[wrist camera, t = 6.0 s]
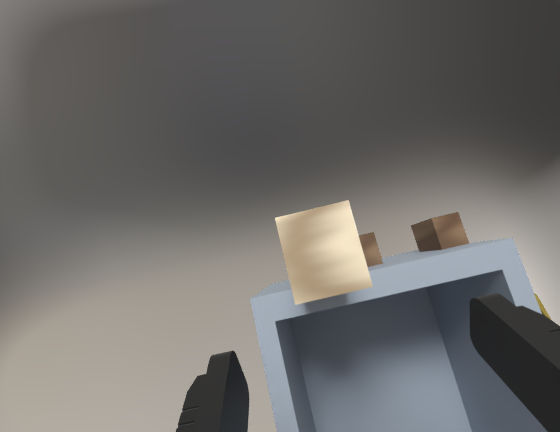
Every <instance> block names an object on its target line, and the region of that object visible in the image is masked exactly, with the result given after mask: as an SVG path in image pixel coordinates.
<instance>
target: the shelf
mask: <svg viewBox="0 0 560 432" xmlns="http://www.w3.org/2000/svg"><path fill="white" fill-rule="evenodd" d="M382 262H383V264H379V265H375V266H370V267H368V271H369V274H370V278H371V281H372V285H373V287H370V288H366V289H362V290H357V291H353V292H349V293H344V294H340V295H336V296H331V297H327V298H323V299H318V300H314V301H310V302H305V303H301V304H297V305H295V302H294V297H293V293H292V289H291V284H290V280H287V281H283V282H278V283H274V284H271V285H270V286H268V287H267V288H266V289H264V290H262V291H261V292H260V293H258V294H257V295H255V296H254V297H252V298H251V299H250V301H251V306H252V310H253V315H254V320H255V326H256V330H257V335H258V340H259V345H260V350H261V355H262V360H263V365H264V369H265V374H266V379H267V384H268V389H269V394H270V399H271V403H272V409H273V414H274V418H275V424H276V428H277V432H548V431H547V430H546V429H545V428H544V427H543V426H542V425H541V423H540V422H539V421H538V420H537V419H536V418H535V417H534V416H533V414H532V413H531V412H530V411H529V410H528V409H527V408H526V407H525V405H524V404H523V403H522V402H521V401H520V400H519V399H518V398H517V396H516V395H515V394H514V393H513V392H512V391H511V390H510V389H509V387H508V386H507V385H506V384H505V383H504V382H503V381H502V380H501V378H500V377H499V376H498V375H497V374H496V373H495V372H494V371H493V369H492V368H491V367H490V366H489V365H488V364H487V363H486V362H485V360H484V359H483V358H482V357H481V356H480V355H479V354H478V352H477V351H476V349H475V347H474V346H473V343H472V341H471V338H470V300H471V299H472V298H476V297H480V296H485V295H489V294H494V293H498V294H500V295H502V296H504V297H505V298H506V299H507V300H509V301H510V302H511V303H513V304H514V305H515V306H524V307H527V308H529V309H531V310H534V311H536V312H538V313H540V314H542V313H541V310H540V308H539V305H538V302H537V300H536V297H535V295H534V292H533V290H532V287H531V285H530V282H529V279H528V277H527V274H526V271H525V269H524V266H523V264H522V261H521V258H520V256H519V253H518V251H517V248H516V246H515V243H514V241H513V238H507V239H499V240H491V241H483V242H475V243H469V244H465V245H460V246H456V247H452V248H448V249H443V250H435V251H425V252H419V250H415V251H411V252H407V253H402V254H398V255H394V256H390V257H385V258H382Z"/></svg>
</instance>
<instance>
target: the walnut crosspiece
mask: <svg viewBox="0 0 560 432" xmlns="http://www.w3.org/2000/svg"><path fill="white" fill-rule="evenodd" d="M411 227H412V230H413V233H414V236H415V240H416V243H417V246H418V249H419V252H425V251H435V250H443V249H448V248H452V247H456V246H460V245H465V244H469V241H468V239H467V236H466V233H465V230H464V228H463V225H462V222H461V219H460V216H459V213H458V212H456V213H452V214H448V215H444V216H439V217H435V218H431V219H428V220H425V221H423V222H420V223H417V224H414V225H411ZM359 239H360V243H361V246H362V250H363V253H364V257H365V260H366V264H367V267H370V266H375V265H379V264H383V262H382V258H381V255H380V252H379V248H378V245H377V242H376V238H375V235H374V232H372V233H368V234H364V235H359Z"/></svg>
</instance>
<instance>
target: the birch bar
mask: <svg viewBox="0 0 560 432" xmlns="http://www.w3.org/2000/svg"><path fill="white" fill-rule="evenodd" d="M275 220H276V224H277V228H278V233H279V237H280V241H281V246H282V250H283V254H284V258H285V263H286V267H287V271H288V275H289V280H290V284H291V289H292V293H293V297H294V302H295V305H297V304H301V303H305V302H310V301H314V300H318V299H323V298H327V297H331V296H336V295H340V294H344V293H349V292H353V291H357V290H362V289H366V288H370V287H373V285H372V281H371V278H370V274H369V271H368V267H367V264H366V260H365V257H364V253H363V250H362V246H361V243H360V239H359V235H358V232H357V228H356V225H355V222H354V218H353V215H352V211H351V208H350V204H349V201H348V200H347V201H343V202H340V203H335V204H331V205H327V206H323V207H319V208H314V209H310V210H306V211H302V212H298V213H294V214H290V215H285V216H281V217H277V218H275Z"/></svg>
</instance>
